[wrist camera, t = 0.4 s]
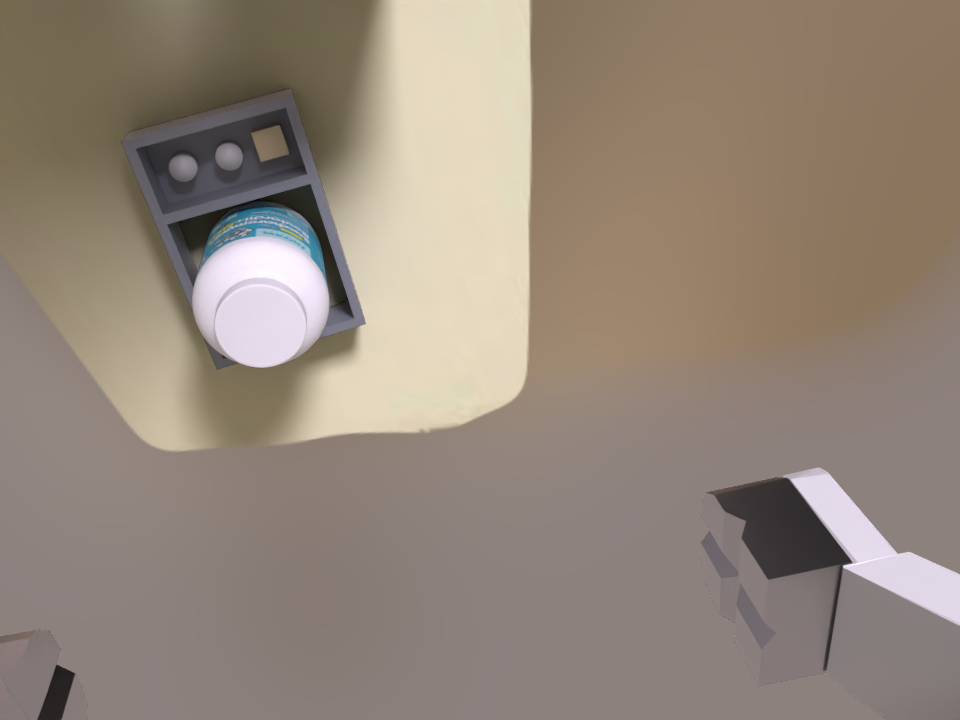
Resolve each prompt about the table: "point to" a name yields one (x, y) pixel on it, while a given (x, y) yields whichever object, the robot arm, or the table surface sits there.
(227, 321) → the pill bottle
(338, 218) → the table surface
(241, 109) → the parts tub
